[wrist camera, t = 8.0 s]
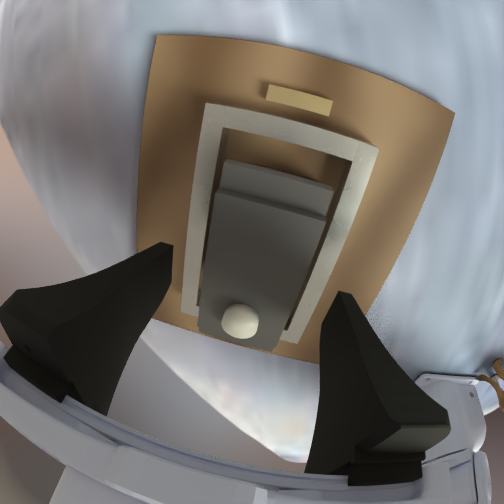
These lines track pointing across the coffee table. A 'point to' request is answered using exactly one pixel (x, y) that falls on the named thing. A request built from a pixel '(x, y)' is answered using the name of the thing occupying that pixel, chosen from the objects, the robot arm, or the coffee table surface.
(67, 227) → the coffee table surface
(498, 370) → the lion figurine
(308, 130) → the pocket plate
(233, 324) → the servo block
